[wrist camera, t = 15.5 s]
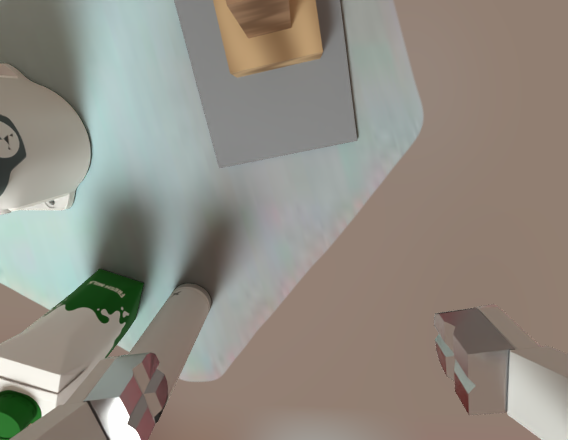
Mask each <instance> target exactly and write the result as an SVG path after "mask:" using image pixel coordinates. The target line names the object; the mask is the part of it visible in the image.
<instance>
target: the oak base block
mask: <svg viewBox="0 0 568 440" xmlns="http://www.w3.org/2000/svg"><path fill="white" fill-rule="evenodd" d="M213 2H214V7H215V11H216V15H217V20H218V24H219V28H220V32H221V37H222V41H223V45H224V49H225V54H226V58H227V62H228V67H229V71H230V74H232V75H234V76H235V77H237V78H238V77H243V76H247V75H251V74H255V73H260V72H264V71H268V70H273V69H277V68H281V67H286V66H290V65H294V64H299V63H303V62H307V61H312V60H316V59H320V58H321V56H322V53H323V48H322V41H321V34H320V27H319V20H318V13H317V6H316V0H289V8H290V20H291V28H289V29H285V30H281V31H277V32H273V33H269V34H265V35H261V36H257V37H253V38H248V37H247V36H246V34H245V33H244V31H243V29H242V28H241V26H240V25H239V23H238V22H237V20H236V19H235V17H234V16H233V14H232V13H231V11H230V9H229V8H228V6H227V4H226V0H213Z"/></svg>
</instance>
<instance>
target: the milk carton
mask: <svg viewBox="0 0 568 440" xmlns="http://www.w3.org/2000/svg"><path fill="white" fill-rule="evenodd" d="M143 285H144V283H142V282H139V281H136V280H133V279H130V278H127V277H124V276H121V275H118V274H115V273H112V272H109V271H106V270H102V269H99V270H98V271H96V272H95V273H94V274H93V275H92V276H91V277H90V278H88V279H87V280H86V281H85V282H84V283H83V284H82V285H81V286H79V287H78V288H77V289H76V290H75V291H74V292H73V293H71V294H70V295H69V296H68V297H66V298H65V299H64V300H63V301H61V302H60V303H59V304H57V305H56V306H55V307H54V308H52V309H51V310H50V311H49V312H47V313H46V314H45V315H43V316H42V317H41V318H40V319H38V320H37V321H36V322H34V323H33V324H32V325H31V326H29V327H28V328H27V329H26V330H24V331H23V332H22V333H20V334H18V335H16V336H14V337H12V338H10V339H9V340H6V341H4V342H3V343H1V344H0V440H9V439H11V438H12V437H14V436H15V435H16V434H18V433H19V432H21V431H22V430H24V429H25V428H26V427H27V426H28V425H29V424H30V423H34V422H35V421H37V420H38V419H40V418H41V417H43V416H44V415H45V414H47V413H48V412H50V411H51V410H53V409H54V408H56V407H57V406H59V405H64V404H65V403H66V402H67V400H68V399H69V398H70V397H71V396H72V394H73V393H74V392H75V391H76V389H77V388H78V387H79V386H80V385H81V383H82V382H83V381H84V380H85V378H86V377H87V376H88V375H89V374H90V372H91V371H92V370H93V369H94V367H95V366H96V365H97V364H98V363H99V361H100V360H102V359H104V358H107V356H108V355H109V354H110V353H111V351H112V350H113V349H114V347H115V346H116V345H117V344H118V342H119V341H120V340H121V339H122V337H123V336H124V335H125V334H126V332H127V331H128V329H129V328H130V326H131V325H132V323H133V322H134V320H135V319H136V315H137V310H138V306H139V302H140V298H141V293H142V289H143Z"/></svg>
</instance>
